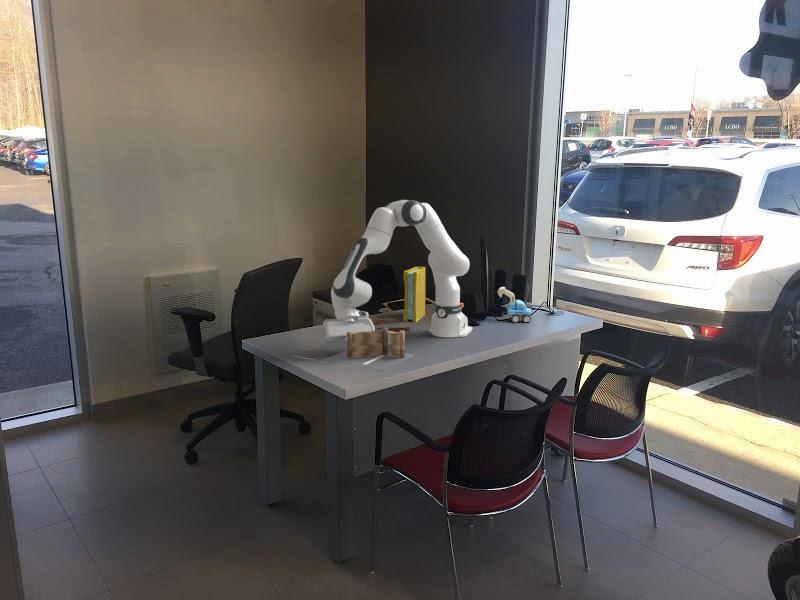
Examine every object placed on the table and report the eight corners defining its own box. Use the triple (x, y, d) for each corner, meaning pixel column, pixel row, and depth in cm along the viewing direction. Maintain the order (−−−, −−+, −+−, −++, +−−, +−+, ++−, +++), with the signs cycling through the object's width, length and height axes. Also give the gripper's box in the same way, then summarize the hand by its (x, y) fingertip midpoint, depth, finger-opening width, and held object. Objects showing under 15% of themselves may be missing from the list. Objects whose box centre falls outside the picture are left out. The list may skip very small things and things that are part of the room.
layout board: (359, 346, 284) (359, 344, 284) (415, 356, 270) (415, 354, 270) (325, 360, 264) (325, 358, 264) (384, 371, 250) (384, 370, 250)
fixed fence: (381, 354, 270) (381, 328, 268) (384, 353, 272) (384, 327, 270) (402, 358, 265) (402, 332, 262) (405, 357, 267) (405, 330, 264)
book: (416, 322, 326) (416, 272, 321) (403, 320, 329) (403, 271, 323) (427, 314, 342) (427, 267, 336) (415, 313, 344) (415, 266, 339)
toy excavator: (495, 318, 334) (497, 285, 330) (529, 319, 333) (530, 285, 330) (497, 323, 325) (499, 288, 322) (531, 323, 325) (533, 289, 321)
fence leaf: (381, 353, 270) (380, 328, 268) (382, 354, 269) (382, 329, 266) (346, 357, 264) (346, 332, 262) (348, 358, 262) (347, 333, 260)
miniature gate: (413, 326, 305) (350, 327, 294) (412, 337, 306) (350, 339, 295) (392, 313, 330) (334, 314, 319) (392, 324, 331) (334, 325, 320)
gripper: (323, 315, 266) (330, 345, 259) (371, 312, 273) (379, 340, 266) (321, 323, 271) (327, 353, 264) (368, 320, 278) (375, 348, 271)
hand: (353, 347), depth 265 cm, fingers closed, pressing on fence leaf
